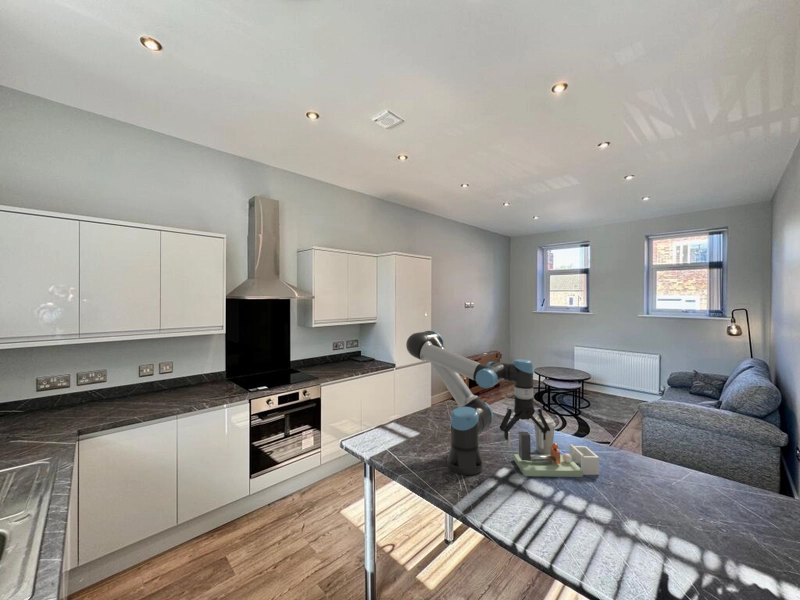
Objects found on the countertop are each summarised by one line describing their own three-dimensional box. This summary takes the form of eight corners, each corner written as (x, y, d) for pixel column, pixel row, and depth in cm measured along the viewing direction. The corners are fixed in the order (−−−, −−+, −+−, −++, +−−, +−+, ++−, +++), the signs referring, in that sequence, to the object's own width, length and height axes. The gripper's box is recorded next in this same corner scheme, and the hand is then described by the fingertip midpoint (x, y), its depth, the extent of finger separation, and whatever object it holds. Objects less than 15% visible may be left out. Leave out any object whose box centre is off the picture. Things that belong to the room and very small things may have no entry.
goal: (581, 474, 126) (581, 455, 126) (570, 462, 136) (569, 444, 136) (599, 474, 126) (598, 455, 126) (586, 462, 135) (585, 444, 135)
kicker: (522, 463, 129) (522, 436, 129) (518, 456, 135) (517, 430, 135) (561, 464, 129) (560, 436, 129) (555, 457, 134) (554, 430, 134)
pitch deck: (524, 476, 126) (524, 470, 126) (514, 459, 139) (513, 454, 139) (582, 476, 125) (582, 470, 125) (567, 460, 138) (567, 454, 138)
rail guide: (532, 463, 130) (532, 461, 130) (529, 458, 134) (529, 456, 134) (552, 464, 129) (552, 461, 129) (548, 458, 134) (548, 456, 134)
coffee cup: (551, 447, 150) (550, 415, 150) (559, 457, 140) (559, 423, 141) (530, 446, 151) (530, 415, 151) (537, 456, 141) (537, 423, 141)
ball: (564, 464, 129) (564, 455, 129) (560, 460, 133) (560, 451, 133) (573, 464, 129) (573, 455, 129) (569, 460, 133) (569, 451, 133)
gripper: (496, 399, 129) (497, 451, 129) (558, 399, 128) (559, 451, 128) (491, 394, 136) (492, 443, 136) (550, 394, 135) (551, 443, 135)
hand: (524, 447), depth 132 cm, fingers open, 13 cm apart
